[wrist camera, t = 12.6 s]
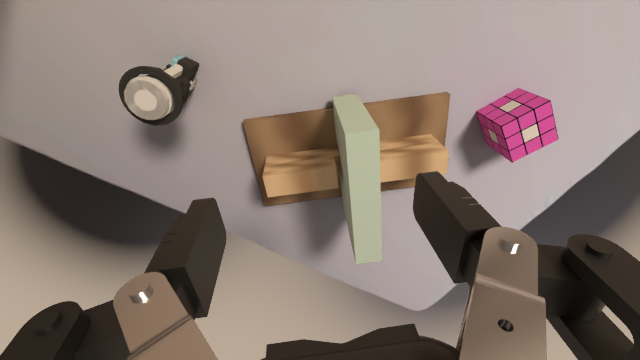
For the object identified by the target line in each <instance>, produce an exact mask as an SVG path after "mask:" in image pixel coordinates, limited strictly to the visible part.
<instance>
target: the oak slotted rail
mask: <svg viewBox="0 0 640 360" xmlns="http://www.w3.org/2000/svg"><path fill="white" fill-rule="evenodd" d="M449 100H450V94H449V93H447V92H444V93H437V94H430V95H422V96H415V97H407V98H400V99H393V100H385V101H378V102H371V103H363V105H364V106H365V108H366V109H367V111H368V112H369V114H370V116H371V117H372V119H373V120H374V122H375V123H376V125H377V127H378V128H379V134H380V186H381V191H384V190H391V189H399V188H406V187H414V186H415V181H416V176H417V174H418V173H425V172H433V171H438V172H439V173H440V174H441V175H442V174H447V165H448V156H449V151H448V150H447V149H446V148H445V138H446V128H447V119H448V110H449ZM243 126H244V129H245V133H246V137H247V141H248V144H249V148H250V152H251V156H252V159H253V163H254V167H255V171H256V175H257V178H258V182H259V186H260V190H261V193H262V197H263V201H264V205H265V206H270V205H278V204H286V203H293V202H301V201H308V200H316V199H323V198H331V197H338V196H342V190H341V180H340V177H341V176H342V175H341V165H340V154H339V148H338V144H337V141H336V131H335V121H334V111H333V108H326V109H319V110H312V111H304V112H297V113H290V114H282V115H275V116H267V117H260V118H253V119H245V120H244V121H243Z"/></svg>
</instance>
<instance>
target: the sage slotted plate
mask: <svg viewBox="0 0 640 360" xmlns="http://www.w3.org/2000/svg"><path fill="white" fill-rule="evenodd" d="M332 101H333V111H334V121H335V131H336V141H337V144H338V148H339V154H340V165H341V175H342V176H341V177H340V180H341V190H342V200H343V207H344V211H345V216H346V221H347V225H348V230H349V234H350V239H351V244H352V248H353V253H354V258H355V262H356V264H361V263H369V262H377V261H382V237H381V186H380V134H379V128H378V127H377V125H376V123H375V122H374V120H373V119H372V117H371V116H370V114H369V112H368V111H367V109H366V108H365V106H364V105H363V103H362V101H361V100H360V98H359V97H358V95H357V94H351V95H344V96H337V97H332Z"/></svg>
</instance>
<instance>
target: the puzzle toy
mask: <svg viewBox="0 0 640 360" xmlns="http://www.w3.org/2000/svg"><path fill="white" fill-rule="evenodd" d="M476 113H477V116H478V119H479V122H480V124H481V127H482V130H483V133H484V136H485V139H486V142H487V144H488V145H489V146H490V147H492V148H493V149H495V150H496V151H497V152H499V153H500V154H501V155H503V156H504V157H505V158H507V159H508V160H509V161H511V162H514V161H516V160H518V159H520V158H522V157H524V156H526V155H528V154H530V153H532V152H534V151H536V150H538V149H540V148H542V147H544V146H546V145H548V144H550V143H552V142H554V141H556V140H558V134H557V129H556V125H555V120H554V115H553V110H552V105H551V101H550V100H548V99H545V98H543V97H540V96H538V95H535V94H532V93H530V92H527V91H525V90H522V89H519V88H518V89H516V90H514V91H513V92H511V93H509V94H507V95H505V96H504V97H502V98H500V99H498V100H496V101H494V102H493V103H491V104H489V105H487V106H485V107H484V108H482V109H480V110H478V111H476Z"/></svg>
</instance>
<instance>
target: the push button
mask: <svg viewBox="0 0 640 360" xmlns="http://www.w3.org/2000/svg"><path fill="white" fill-rule="evenodd" d="M198 67H199V63H197V62H195V61H193V60H191V59H189V58H187V57H184V56H182V55H179V56H177V57H174V58H173V60H172V64H171V65H169V64H168V65H167V66H166V69H164V70H162V69H160V68H155V67H148V66H139V67H135V68H132V69H130V70H128V71H127V72H126V73H125V74H124V75H123V76H122V78H121V80H120V83H119V95H120V98H121V101H122V103H123V105H124V106H125V108H126V109H127V110H128V111H129V112H130V113H131V114H132V115H133V116H134V117H135V118H137V119H138V120H140V121H142V122H144V123H147V124H150V125H165V124H168V123H170V122H172V121H173V120H175V119H176V118H177V117H178V115H179V114H180V112H181V109H182V106H183V104H184V103H185V102H186V100H187V92H188V91H189V90H190V91H191V90H192V89H193V88H194V87H195V85H196V82H197V79H196V80H194V81H191V78H192V76H193V75H194V74H195V73H196V72H197V70H198ZM139 74H149V75H146V76H138V75H139ZM194 83H195V84H194ZM172 108H174V109H172ZM170 111H172V113H169V112H170Z"/></svg>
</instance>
